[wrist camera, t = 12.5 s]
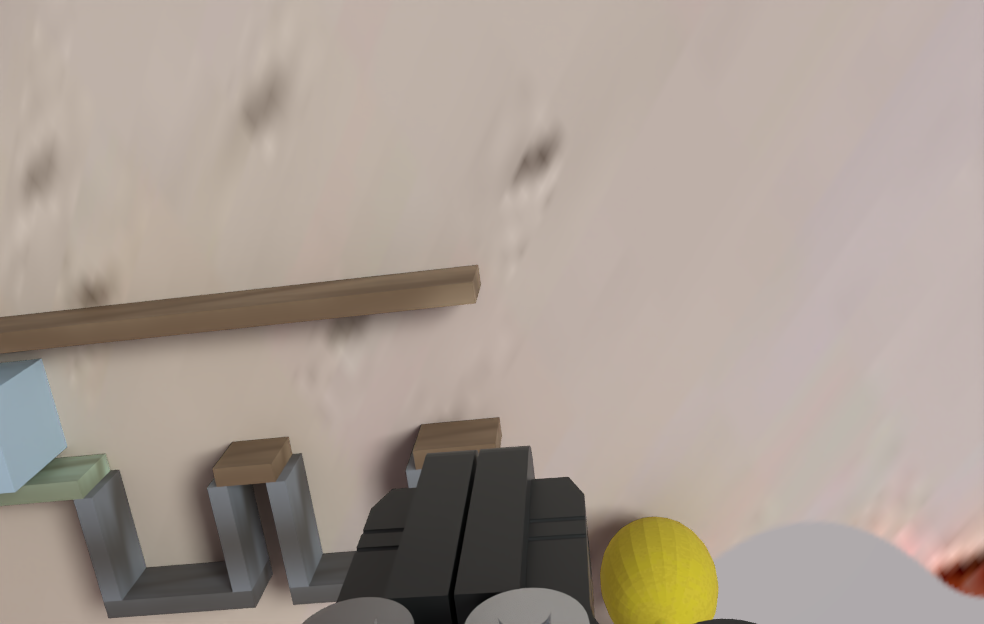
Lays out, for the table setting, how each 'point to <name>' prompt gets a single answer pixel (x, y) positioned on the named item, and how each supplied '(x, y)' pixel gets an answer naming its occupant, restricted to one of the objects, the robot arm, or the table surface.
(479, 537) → the robot arm
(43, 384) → the block
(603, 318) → the table surface
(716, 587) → the lemon
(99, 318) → the trap box
